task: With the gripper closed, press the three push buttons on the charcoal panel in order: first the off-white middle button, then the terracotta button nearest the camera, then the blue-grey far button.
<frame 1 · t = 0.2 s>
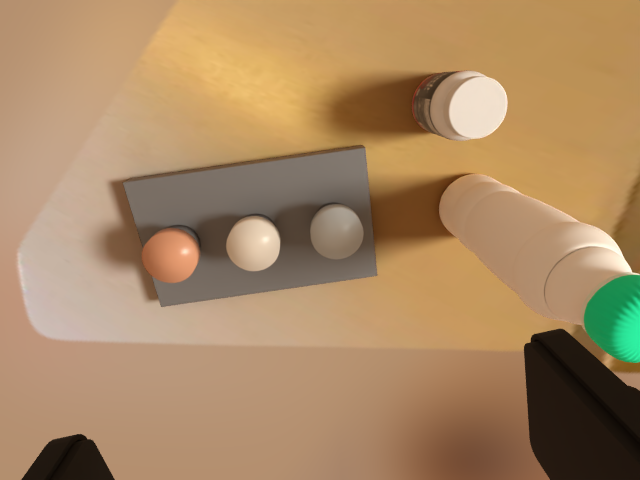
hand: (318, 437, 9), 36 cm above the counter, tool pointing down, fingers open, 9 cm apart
water bottle: (468, 203, 45), on the counter
bluegrey button: (336, 231, 40), point 5 cm above the counter, slide at 0.0 cm
pill bottle: (437, 103, 41), on the counter
white button: (254, 243, 40), point 5 cm above the counter, slide at 0.0 cm
button panel: (259, 225, 45), on the counter
terracotta button: (171, 255, 40), point 5 cm above the counter, slide at 0.0 cm
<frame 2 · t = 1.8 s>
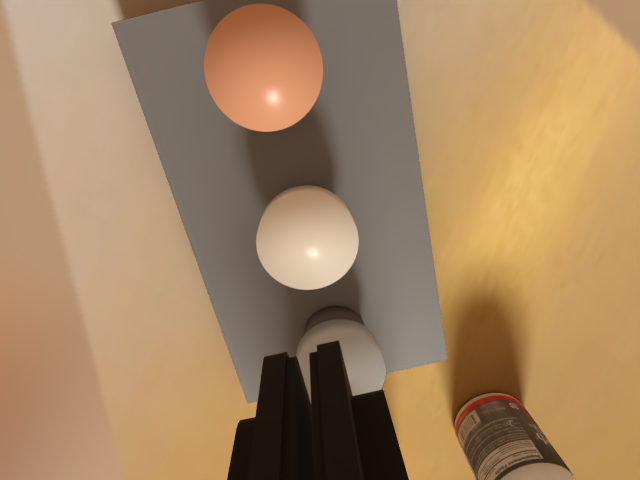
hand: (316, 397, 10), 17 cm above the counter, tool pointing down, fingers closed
bluegrey button: (339, 365, 24), point 5 cm above the counter, slide at 0.0 cm
pill bottle: (486, 416, 33), on the counter
white button: (307, 237, 21), point 5 cm above the counter, slide at 0.0 cm
button panel: (305, 209, 26), on the counter
terracotta button: (265, 71, 18), point 5 cm above the counter, slide at 0.0 cm
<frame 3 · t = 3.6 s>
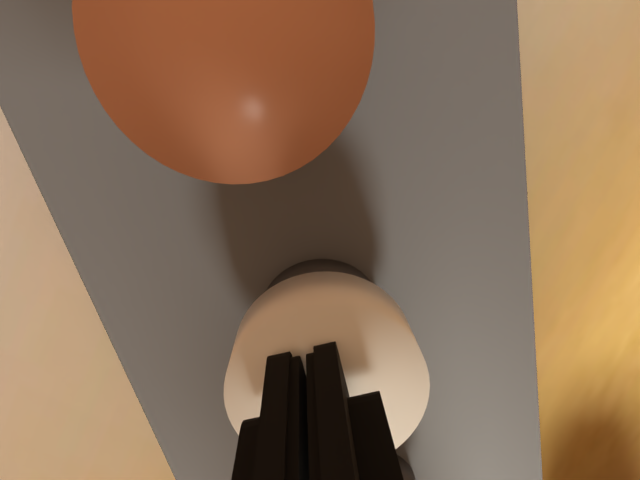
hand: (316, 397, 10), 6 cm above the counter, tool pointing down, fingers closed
white button: (325, 372, 11), point 5 cm above the counter, slide at 0.4 cm, touching gripper
button panel: (318, 287, 16), on the counter
terracotta button: (235, 43, 8), point 5 cm above the counter, slide at 0.0 cm
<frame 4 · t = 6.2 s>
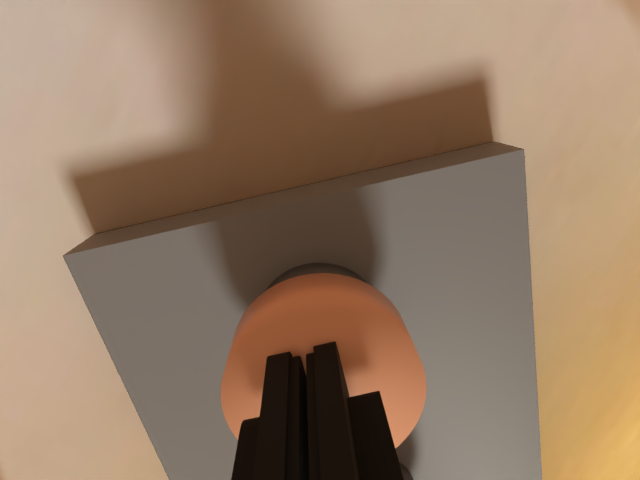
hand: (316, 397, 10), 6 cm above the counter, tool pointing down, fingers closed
button panel: (357, 450, 18), on the counter
terracotta button: (322, 373, 11), point 5 cm above the counter, slide at 0.6 cm
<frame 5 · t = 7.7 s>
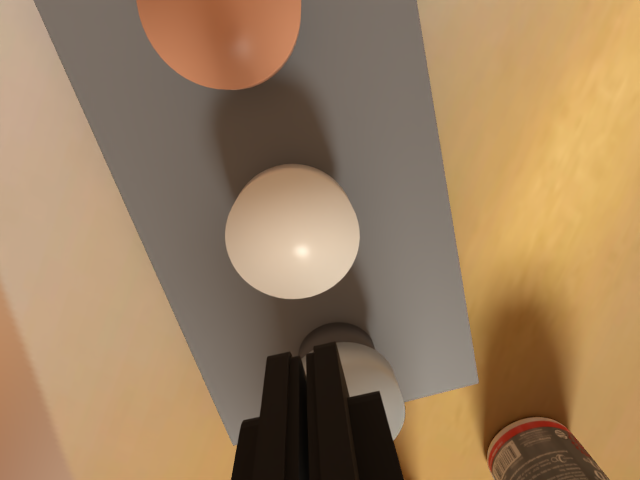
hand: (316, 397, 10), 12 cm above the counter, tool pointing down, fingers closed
bluegrey button: (344, 402, 18), point 5 cm above the counter, slide at 0.0 cm
pill bottle: (525, 445, 27), on the counter
white button: (293, 231, 16), point 5 cm above the counter, slide at 0.8 cm
button panel: (293, 201, 21), on the counter
terracotta button: (224, 8, 13), point 5 cm above the counter, slide at 0.8 cm
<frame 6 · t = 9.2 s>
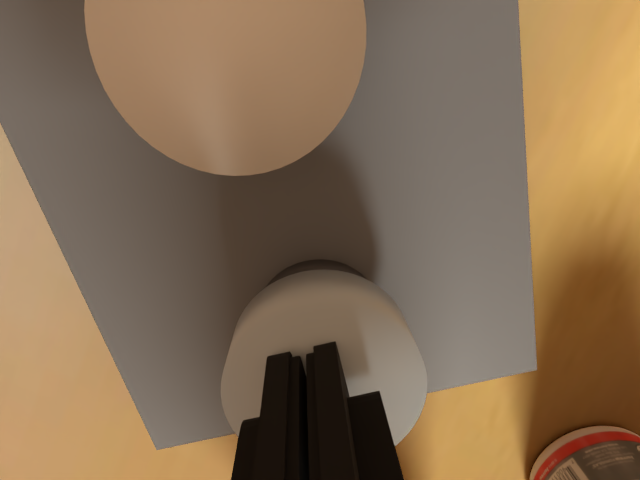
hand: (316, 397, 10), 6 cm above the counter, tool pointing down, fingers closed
bluegrey button: (323, 370, 11), point 5 cm above the counter, slide at 0.6 cm
pill bottle: (582, 464, 19), on the counter
white button: (235, 43, 8), point 5 cm above the counter, slide at 0.8 cm
button panel: (258, 60, 13), on the counter
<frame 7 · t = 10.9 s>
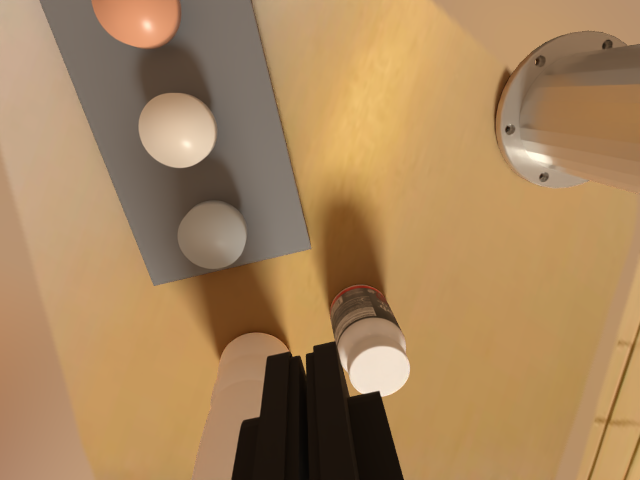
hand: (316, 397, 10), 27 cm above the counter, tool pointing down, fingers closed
water bottle: (257, 358, 42), on the counter
bluegrey button: (213, 234, 32), point 5 cm above the counter, slide at 0.8 cm
pill bottle: (357, 307, 41), on the counter
white button: (179, 130, 29), point 5 cm above the counter, slide at 0.8 cm
button panel: (193, 125, 34), on the counter
terracotta button: (138, 4, 26), point 5 cm above the counter, slide at 0.8 cm
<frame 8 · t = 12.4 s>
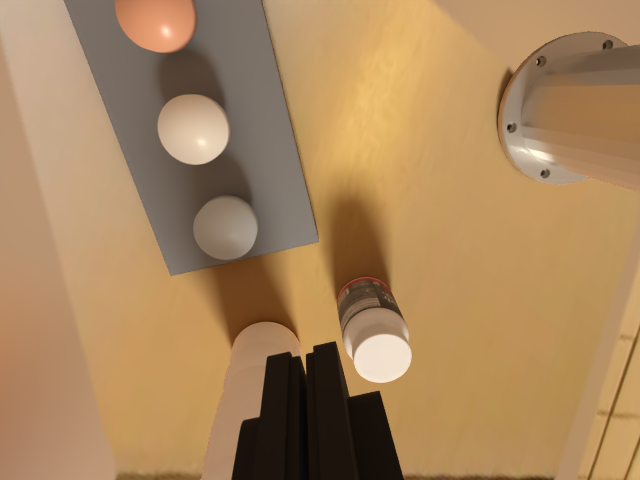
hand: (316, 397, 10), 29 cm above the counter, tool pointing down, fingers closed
water bottle: (267, 346, 44), on the counter
bluegrey button: (226, 227, 34), point 5 cm above the counter, slide at 0.8 cm
pill bottle: (363, 299, 42), on the counter
white button: (195, 129, 31), point 5 cm above the counter, slide at 0.8 cm
button panel: (208, 124, 35), on the counter
terracotta button: (157, 12, 28), point 5 cm above the counter, slide at 0.8 cm
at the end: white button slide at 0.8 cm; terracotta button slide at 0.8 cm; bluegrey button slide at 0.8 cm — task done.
